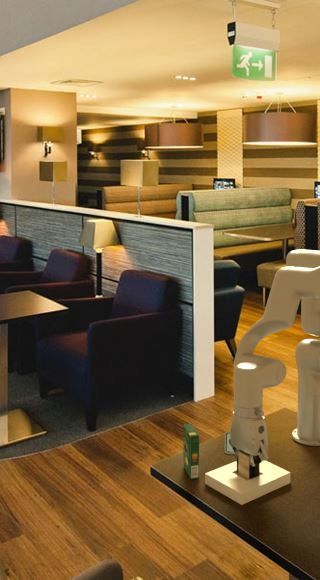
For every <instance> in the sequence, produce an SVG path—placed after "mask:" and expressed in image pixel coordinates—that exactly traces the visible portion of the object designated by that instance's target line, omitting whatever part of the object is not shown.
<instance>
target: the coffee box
mask: <svg viewBox="0 0 320 580" xmlns="http://www.w3.org/2000/svg"><path fill="white" fill-rule="evenodd" d="M182 428H183V429H182V433H183V434H182V435H183V436H182V437H183V438H182V439H183V441H182V442H183V443H182V444H183V448H182V449H183V468H184V470H185V472H186V474H187V475H188V477H189V480H198V479H200V433H199V432H198V431H197V430H196V428H195V426H194V424H193V423H185V424H183V425H182Z"/></svg>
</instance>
